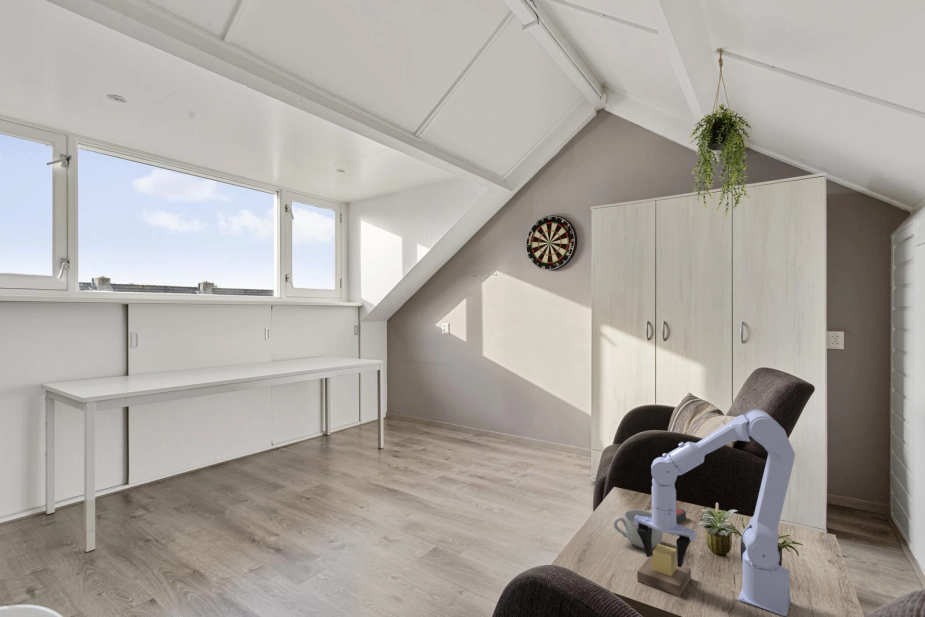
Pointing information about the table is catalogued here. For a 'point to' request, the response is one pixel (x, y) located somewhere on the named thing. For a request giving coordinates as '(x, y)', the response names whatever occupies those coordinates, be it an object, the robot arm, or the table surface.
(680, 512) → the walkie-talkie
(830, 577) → the table surface
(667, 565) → the mustard block
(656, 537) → the teacup
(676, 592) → the walnut plinth
